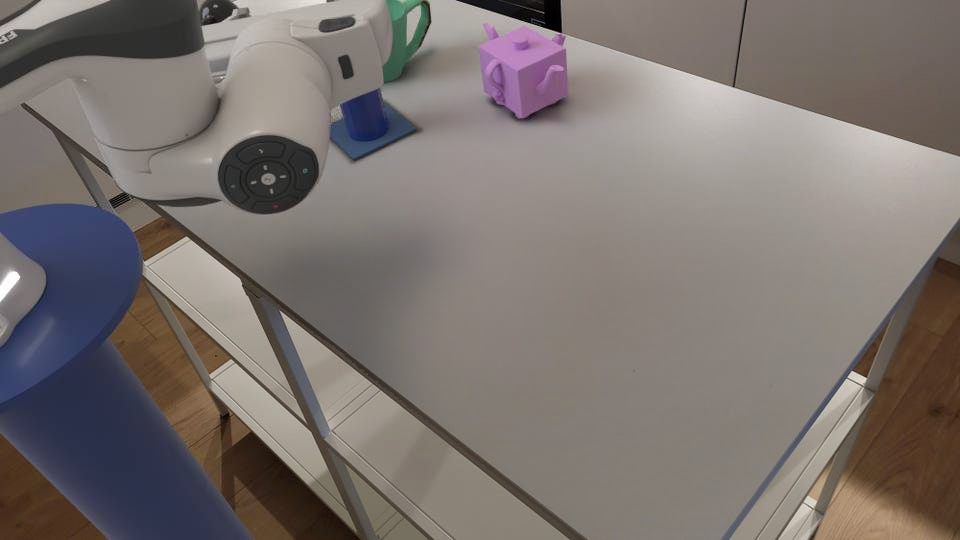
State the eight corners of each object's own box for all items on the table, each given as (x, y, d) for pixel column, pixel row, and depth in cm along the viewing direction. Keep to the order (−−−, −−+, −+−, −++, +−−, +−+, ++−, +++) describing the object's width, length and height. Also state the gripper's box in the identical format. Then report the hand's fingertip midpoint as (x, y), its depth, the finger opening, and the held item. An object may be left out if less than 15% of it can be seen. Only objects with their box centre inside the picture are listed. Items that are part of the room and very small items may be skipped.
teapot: (607, 106, 104) (607, 40, 97) (530, 145, 99) (524, 79, 93) (529, 59, 115) (524, -3, 108) (457, 92, 111) (447, 30, 104)
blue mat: (354, 161, 102) (353, 158, 102) (322, 130, 108) (321, 128, 108) (416, 130, 105) (416, 128, 105) (382, 102, 112) (381, 100, 111)
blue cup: (360, 147, 103) (340, 75, 96) (341, 129, 107) (320, 59, 99) (396, 129, 105) (379, 58, 98) (376, 113, 109) (359, 43, 101)
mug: (379, 98, 112) (363, 36, 105) (343, 76, 118) (327, 16, 111) (455, 58, 118) (445, -4, 111) (417, 39, 124) (406, -20, 117)
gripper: (179, 125, 69) (200, 53, 79) (400, 83, 69) (393, 17, 79) (149, 62, 64) (175, -5, 74) (385, 18, 65) (379, -43, 75)
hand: (289, 6), depth 77 cm, fingers open, 8 cm apart
